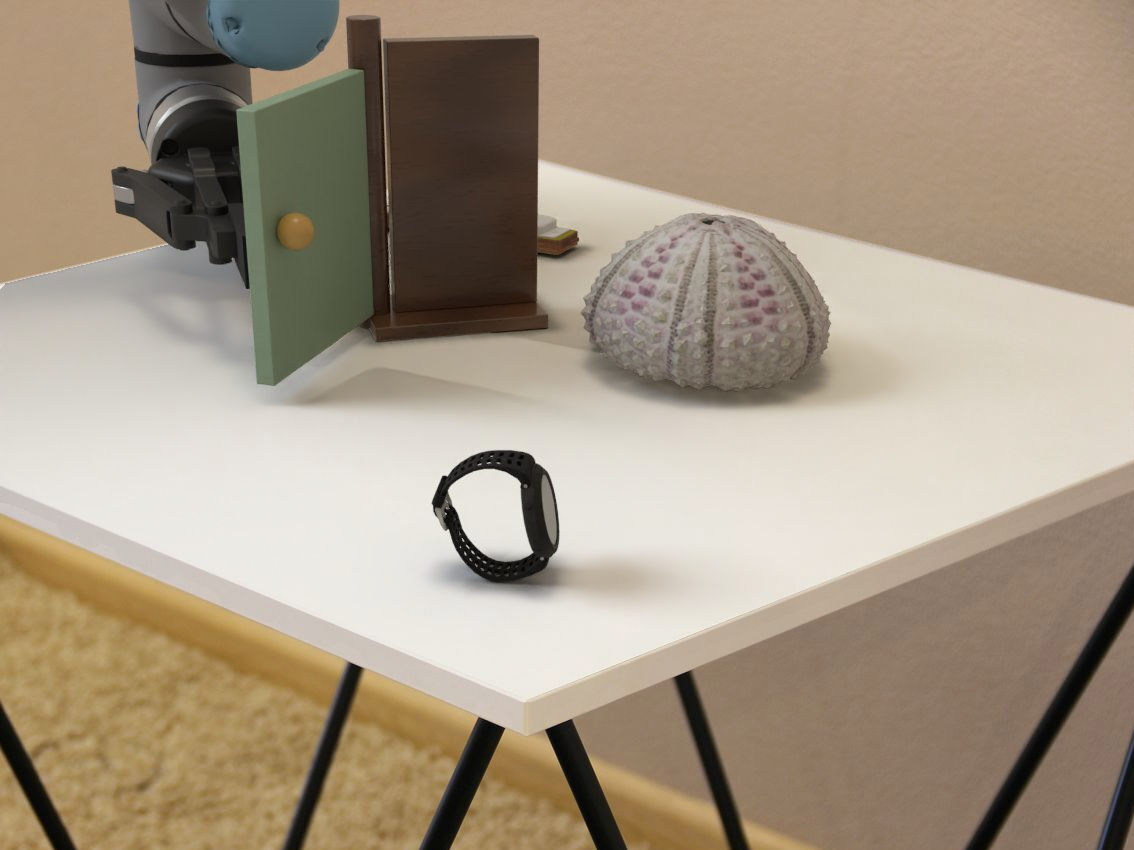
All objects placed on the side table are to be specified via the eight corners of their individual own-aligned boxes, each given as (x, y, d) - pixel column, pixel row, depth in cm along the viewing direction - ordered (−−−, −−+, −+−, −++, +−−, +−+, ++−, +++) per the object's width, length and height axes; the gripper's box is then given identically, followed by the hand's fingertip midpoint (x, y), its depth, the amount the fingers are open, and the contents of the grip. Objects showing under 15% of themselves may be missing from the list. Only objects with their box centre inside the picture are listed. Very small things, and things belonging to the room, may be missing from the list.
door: (305, 391, 75) (288, 113, 69) (256, 384, 76) (235, 109, 70) (401, 318, 86) (394, 72, 80) (357, 313, 86) (347, 68, 80)
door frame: (369, 342, 85) (356, 25, 77) (350, 309, 90) (336, 9, 83) (548, 327, 88) (552, 21, 80) (520, 297, 93) (521, 6, 86)
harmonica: (579, 247, 103) (579, 218, 102) (558, 258, 100) (558, 229, 100) (396, 218, 109) (395, 190, 108) (371, 228, 106) (370, 200, 105)
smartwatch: (534, 607, 58) (535, 487, 56) (419, 576, 60) (416, 459, 58) (583, 563, 61) (585, 449, 59) (473, 535, 63) (471, 423, 61)
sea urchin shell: (657, 309, 91) (663, 176, 88) (869, 354, 85) (884, 212, 81) (534, 373, 81) (536, 225, 77) (765, 429, 75) (777, 271, 71)
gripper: (318, 210, 99) (391, 323, 79) (111, 222, 96) (131, 344, 75) (312, 93, 96) (386, 179, 76) (97, 101, 92) (114, 194, 72)
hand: (259, 261), depth 76 cm, fingers closed
